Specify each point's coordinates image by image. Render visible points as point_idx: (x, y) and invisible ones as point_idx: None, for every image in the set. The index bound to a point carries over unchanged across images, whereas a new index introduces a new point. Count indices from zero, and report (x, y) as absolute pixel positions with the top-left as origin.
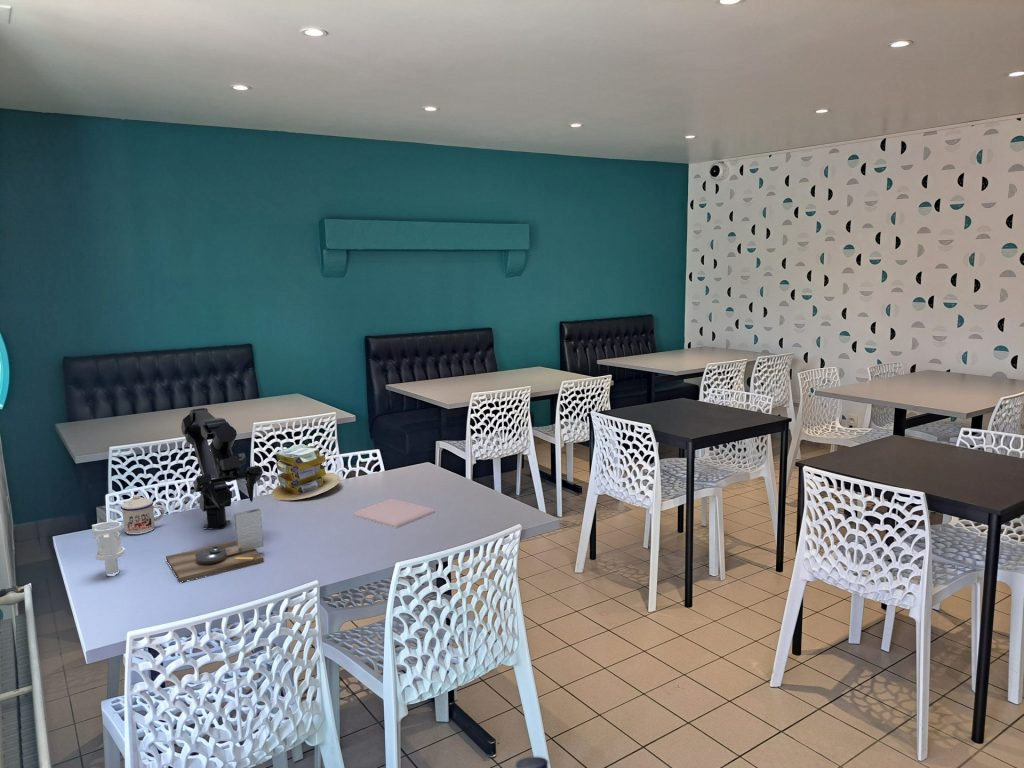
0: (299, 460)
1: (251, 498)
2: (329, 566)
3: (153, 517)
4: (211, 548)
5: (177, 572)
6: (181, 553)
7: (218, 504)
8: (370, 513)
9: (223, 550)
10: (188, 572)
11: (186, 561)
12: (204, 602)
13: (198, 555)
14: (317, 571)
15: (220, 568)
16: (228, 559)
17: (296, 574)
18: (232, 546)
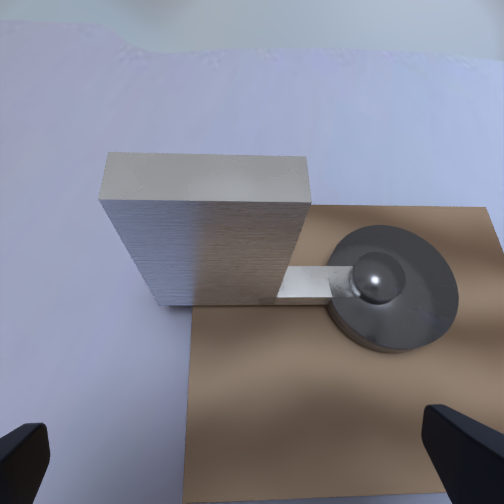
0: None
1: (21, 437)
2: (56, 84)
3: None
4: (396, 285)
5: (499, 252)
6: None
7: (464, 415)
8: None
9: (339, 276)
10: (460, 230)
11: (480, 342)
12: (400, 84)
13: (445, 285)
14: (101, 77)
15: (352, 206)
16: (317, 259)
17: (156, 91)
18: (273, 407)
